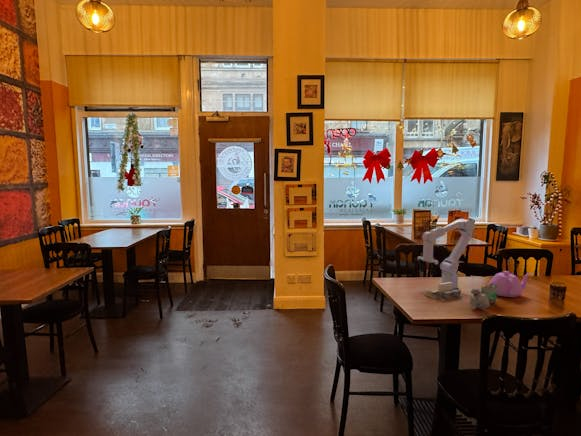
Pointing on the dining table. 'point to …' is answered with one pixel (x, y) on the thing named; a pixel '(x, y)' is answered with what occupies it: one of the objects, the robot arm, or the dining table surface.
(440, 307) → the dining table surface
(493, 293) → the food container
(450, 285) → the pad
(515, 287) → the teapot
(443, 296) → the frame
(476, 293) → the grey lumpy figure
